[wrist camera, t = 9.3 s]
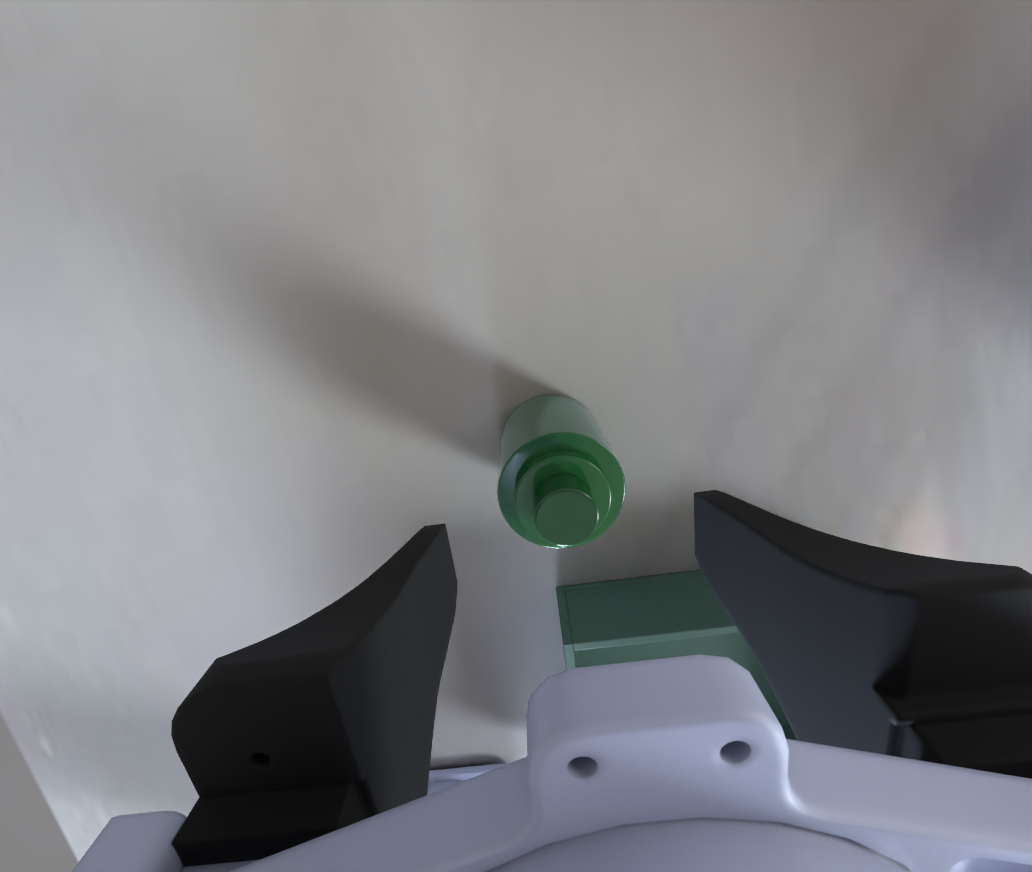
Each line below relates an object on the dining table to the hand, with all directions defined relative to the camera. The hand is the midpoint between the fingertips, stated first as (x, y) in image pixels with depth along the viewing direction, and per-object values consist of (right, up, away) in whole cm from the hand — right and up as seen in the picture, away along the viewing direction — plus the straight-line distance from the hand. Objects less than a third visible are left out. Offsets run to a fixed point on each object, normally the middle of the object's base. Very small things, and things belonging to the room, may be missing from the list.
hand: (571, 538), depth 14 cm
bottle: (0, +3, +7) cm, 8 cm away
